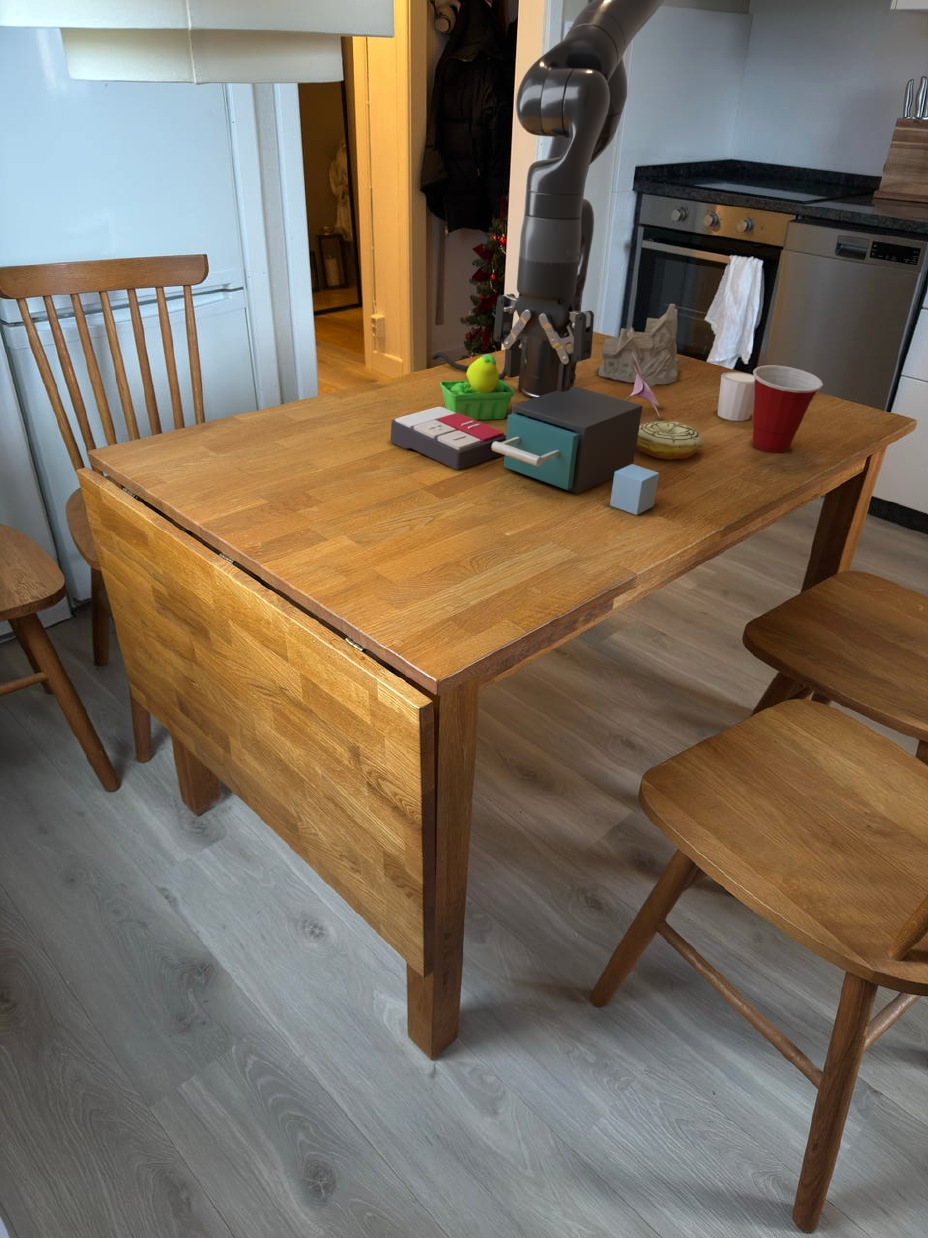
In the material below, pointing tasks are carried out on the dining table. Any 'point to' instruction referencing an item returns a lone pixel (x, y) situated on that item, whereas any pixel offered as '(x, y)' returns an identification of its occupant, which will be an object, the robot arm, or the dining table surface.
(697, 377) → the dining table surface
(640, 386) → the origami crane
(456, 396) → the fruit basket
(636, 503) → the blue block
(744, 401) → the white faceted cylinder
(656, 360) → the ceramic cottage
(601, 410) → the cabinet
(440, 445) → the calculator
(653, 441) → the decorated donut
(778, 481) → the dining table surface
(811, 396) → the plastic cup
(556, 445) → the drawer
